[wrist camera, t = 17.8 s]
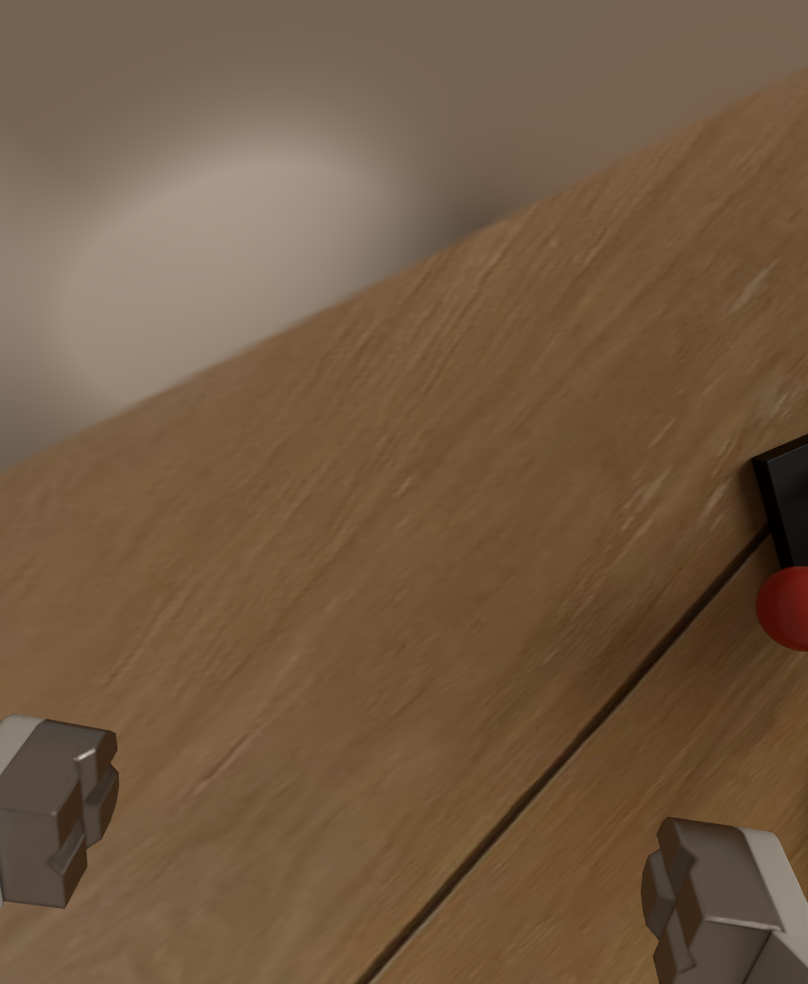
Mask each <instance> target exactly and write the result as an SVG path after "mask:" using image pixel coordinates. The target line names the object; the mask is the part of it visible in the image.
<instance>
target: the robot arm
mask: <svg viewBox="0 0 808 984" xmlns="http://www.w3.org/2000/svg"><path fill="white" fill-rule="evenodd" d="M116 752H117V741H116V733H114V732H112V731H109V730H104V729H98V728H93V727H87V726H82V725H77V724H71V723H66V722H60V721H55V720H49V719H40V718H35V717H29V716H24V715H18V714H12V715H10V716H9V717H7V718H5V719H4V720H2V721H1V723H0V907H1V906H3V901H7V902H15V903H23V904H30V905H38V906H46V907H54V908H62V909H65V908H66V906H67V904H68V902H69V900H70V898H71V896H72V894H73V892H74V891H75V889H76V887H77V885H78V883H79V881H80V879H81V877H82V876H83V874H84V872H85V870H86V868H87V854H86V849H87V848H89V847H91V846H92V845H94V844H95V843H97V842H98V841H100V840H101V839H102V837H103V835H104V833H105V831H106V829H107V827H108V825H109V823H110V821H111V818H112V815H113V812H114V809H115V805H116V802H117V797H118V789H119V773H118V772H117V770H116V769H115V768H114V767H113V766H112V764H111V761H112V759H113V757H114V756H115V754H116ZM657 838H658V842H659V846H660V849H658V850H657V851H655V852H654V853H652V854H650V855H649V856H648V858H647V861H646V864H645V867H644V870H643V874H642V885H641V899H642V909H643V914H644V918H645V923H646V926H647V927H648V928H649V929H650V931H651V932H652V933H653V934H654V935H655V937H656V938H657V939H658V940H659V942H658V945H657V947H656V950H655V952H654V955H653V959H654V963H655V968H656V972H657V976H658V980H659V984H808V903H807V901H806V899H805V897H804V894H803V892H802V890H801V888H800V886H799V883H798V881H797V879H796V877H795V875H794V872H793V870H792V868H791V866H790V864H789V861H788V859H787V857H786V855H785V852H784V850H783V848H782V846H781V844H780V841H779V839H778V838H777V837H776V836H775V835H774V834H773V833H772V832H768V831H762V830H755V829H748V828H741V827H733V826H729V825H722V824H715V823H708V822H701V821H694V820H687V819H680V818H673V817H667V818H666V819H665V820H663V821H662V823H661V825H660V827H659V830H658V832H657Z"/></svg>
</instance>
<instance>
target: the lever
mask: <svg viewBox="0 0 808 984" xmlns="http://www.w3.org/2000/svg"><path fill="white" fill-rule="evenodd" d="M755 606H756V614H757V618H758V621H759V623H760V625H761V627H762V628H763V630H764V631H765V632H766V634H767V635H768V636H769V637H770V638H771V639H773V640H774V641H775V642H777V643H778V644H780V645H782V646H784V647H786V648H789V649H792V650H796V651H804V652H808V566H793V567H788V568H784V569H781V570H779V571H777V572H775V573H773V574H772V575H771V576H769V577H768V578H767V579H766V580H765V581H764V582H763V584H762V586H761V587H760V589H759V591H758V594H757V597H756V603H755Z"/></svg>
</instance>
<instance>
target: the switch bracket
mask: <svg viewBox="0 0 808 984" xmlns="http://www.w3.org/2000/svg"><path fill="white" fill-rule="evenodd" d="M752 463H753V466H754V470H755V474H756V477H757V481H758V485H759V488H760V492H761V496H762V499H763V503H764V507H765V510H766V514H767V518H768V521H769V525H770V529H771V532H772V536H773V540H774V543H775V547H776V551H777V554H778V558H779V562H780V565H781V569H784V568H788V567H793V566H808V434H807V435H805V436H802V437H800V438H798V439H795V440H793V441H791V442H788V443H786V444H784V445H781V446H779V447H777V448H774V449H772V450H769V451H767V452H765V453H762V454H760V455H758V456H755V457H753V458H752Z"/></svg>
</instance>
